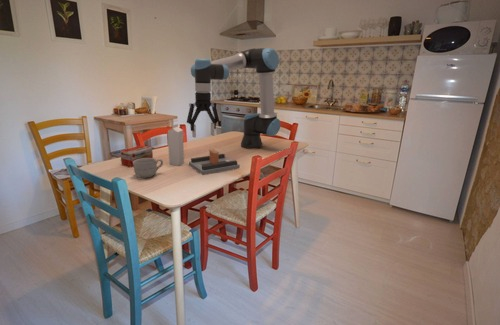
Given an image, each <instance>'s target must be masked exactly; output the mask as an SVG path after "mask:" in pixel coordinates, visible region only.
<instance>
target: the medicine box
mask: <svg viewBox="0 0 500 325" xmlns="http://www.w3.org/2000/svg"><path fill="white" fill-rule="evenodd" d="M153 154H154V153H153V147H151V146H146V145H138V146H134V147H130V148H126V149H123V150H120V161H121V165H122V166H125V165H126V166H127V167H130V168H134V165H133V161H134V160H137V159H142V158H154V157H153V156H154V155H153Z"/></svg>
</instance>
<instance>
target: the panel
mask: <svg viewBox="0 0 500 325" xmlns="http://www.w3.org/2000/svg"><path fill="white" fill-rule="evenodd" d="M228 161H232V160H231V159H230V158H228V157H226V156H225V158H221V159H219V163H221V162H228ZM209 164H212V163H211V162H210V160H208V161H202V162H195V163H192V162H191V160H190V161H188V166H190V167H191V168H192V169H194V170H195V171H197V173H198V174H200V175H202V176H204V175H211V174H217V173H221V172H223V173H224V172H227V171H234V170H238V169H237V168H240V167H241V165H240V164H239V163H237V165H233V166H227V167H221V168H215V169H209V170H202V166H203V165H209ZM233 169H234V170H233Z"/></svg>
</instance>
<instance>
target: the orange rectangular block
mask: <svg viewBox="0 0 500 325" xmlns="http://www.w3.org/2000/svg"><path fill="white" fill-rule="evenodd" d="M219 154H220V152H219V151H218V150H215V149H213V148H211V149H209V156H210V162H211V163H212V164H215V163H219Z"/></svg>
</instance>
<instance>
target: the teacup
mask: <svg viewBox="0 0 500 325" xmlns="http://www.w3.org/2000/svg"><path fill="white" fill-rule="evenodd" d="M158 162H160V164H159V165H158V166H157V164H158ZM133 165H134V167H133V172H134V174H135V175H136V176H138V177H139V178H145V179H146V178H151V177H153V176H154V175H155V174H157V171H158V170H159V169H160V168H161V167H162V166H163V165H164V161H163V160H162V159H161V158H157V159H156V158H154V157H153V158H142V159H137V160H134V161H133Z"/></svg>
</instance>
